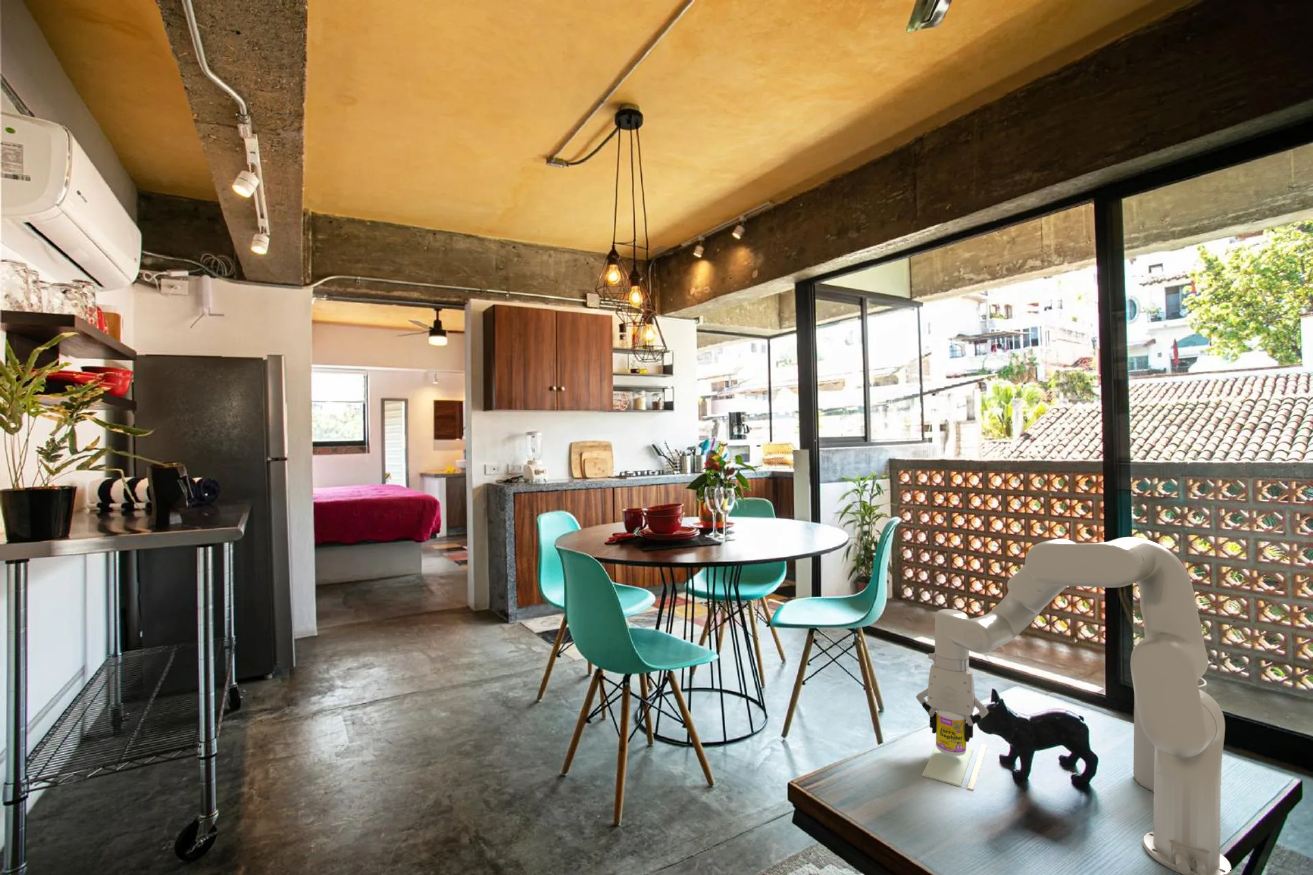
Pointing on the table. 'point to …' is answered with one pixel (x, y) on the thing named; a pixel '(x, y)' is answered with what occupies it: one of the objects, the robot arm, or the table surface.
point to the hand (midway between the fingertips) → (951, 734)
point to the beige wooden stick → (977, 767)
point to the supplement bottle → (950, 733)
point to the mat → (948, 766)
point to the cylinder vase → (1147, 749)
